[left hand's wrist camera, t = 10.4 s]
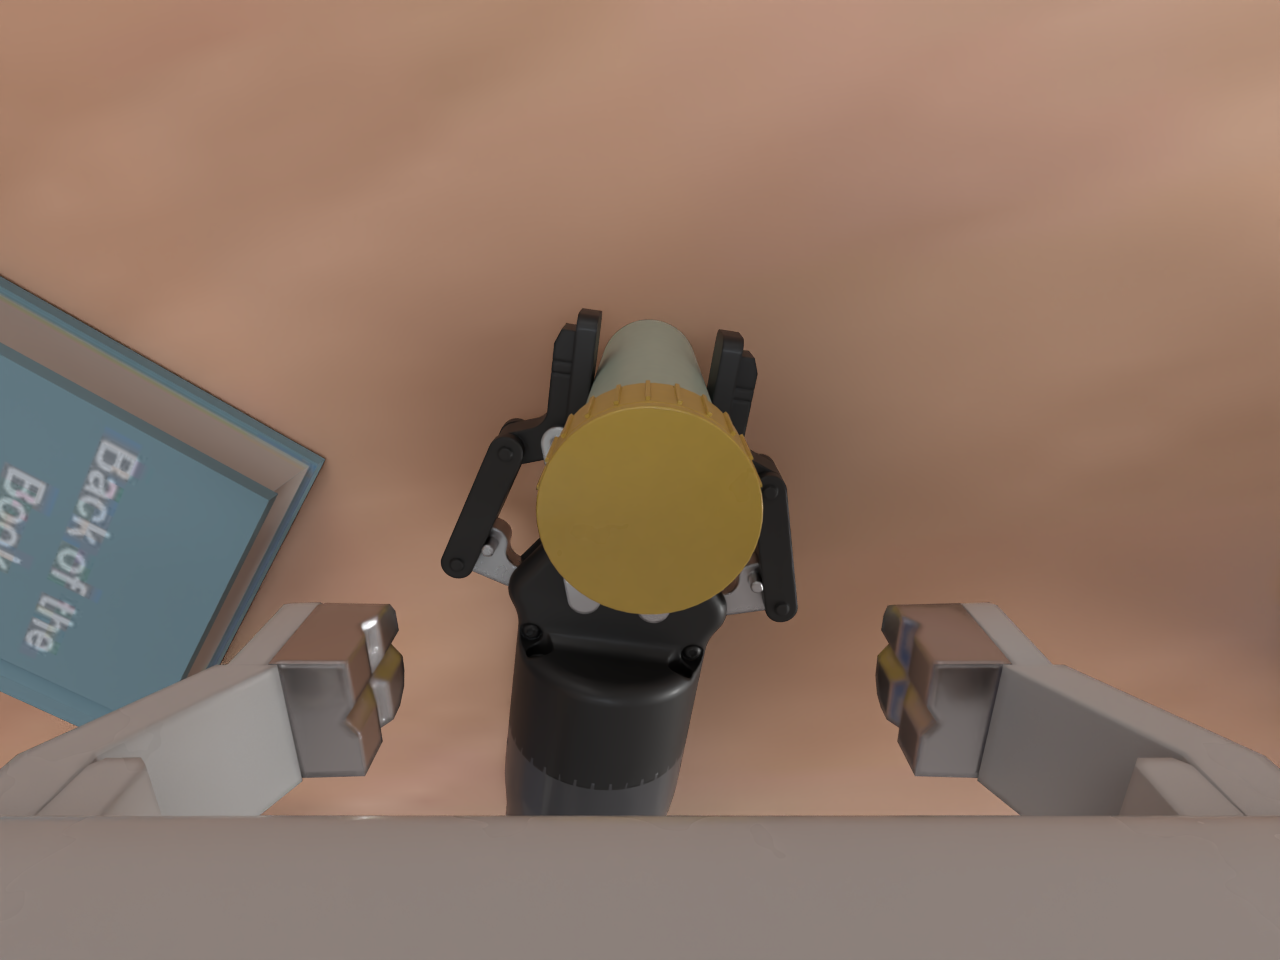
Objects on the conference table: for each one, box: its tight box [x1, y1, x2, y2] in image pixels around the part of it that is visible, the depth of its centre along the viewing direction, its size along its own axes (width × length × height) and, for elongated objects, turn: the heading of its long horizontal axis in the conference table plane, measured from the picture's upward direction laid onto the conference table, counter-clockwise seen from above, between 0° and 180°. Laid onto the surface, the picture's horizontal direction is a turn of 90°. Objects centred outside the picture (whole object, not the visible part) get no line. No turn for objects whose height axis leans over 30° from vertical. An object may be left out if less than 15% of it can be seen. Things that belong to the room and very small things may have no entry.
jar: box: [586, 320, 712, 404], centre depth 23 cm, size 4×4×16 cm
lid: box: [536, 380, 763, 614], centre depth 16 cm, size 5×5×2 cm
